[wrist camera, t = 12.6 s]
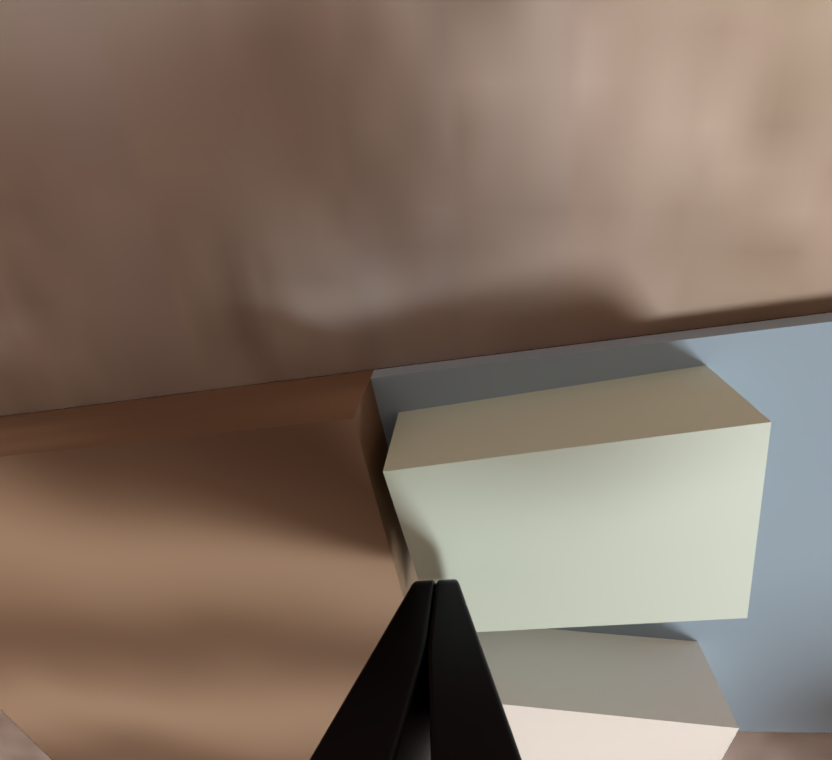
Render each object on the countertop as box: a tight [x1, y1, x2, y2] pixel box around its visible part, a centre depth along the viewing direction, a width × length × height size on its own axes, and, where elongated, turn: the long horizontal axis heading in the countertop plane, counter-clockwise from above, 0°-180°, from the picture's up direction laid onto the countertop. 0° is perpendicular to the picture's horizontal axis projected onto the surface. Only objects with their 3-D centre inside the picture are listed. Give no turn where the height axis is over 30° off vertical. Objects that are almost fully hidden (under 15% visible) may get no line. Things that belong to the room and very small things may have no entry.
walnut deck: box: [0, 370, 419, 760], centre depth 13 cm, size 13×14×2 cm
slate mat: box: [371, 312, 832, 733], centre depth 11 cm, size 13×14×1 cm
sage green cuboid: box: [383, 365, 771, 632], centre depth 9 cm, size 4×6×2 cm
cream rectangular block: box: [477, 629, 739, 760], centre depth 12 cm, size 4×6×2 cm
